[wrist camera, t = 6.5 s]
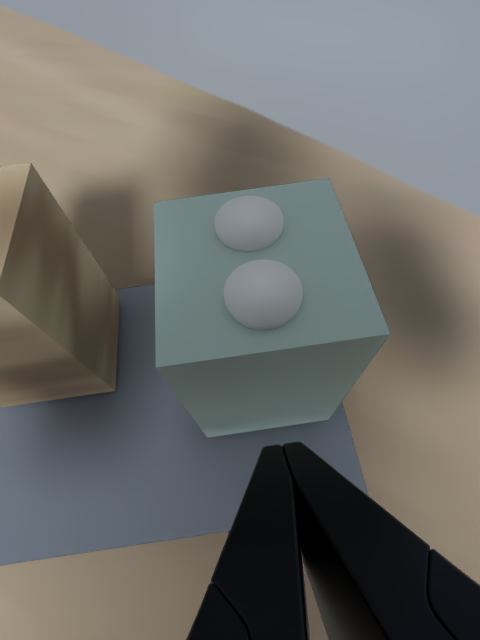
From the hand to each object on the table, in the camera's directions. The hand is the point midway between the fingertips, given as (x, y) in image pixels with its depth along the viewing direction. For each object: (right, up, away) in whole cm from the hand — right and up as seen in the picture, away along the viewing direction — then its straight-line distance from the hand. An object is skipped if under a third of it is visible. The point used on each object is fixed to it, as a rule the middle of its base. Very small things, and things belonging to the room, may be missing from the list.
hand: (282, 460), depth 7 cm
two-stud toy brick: (0, +1, +6) cm, 6 cm away
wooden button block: (-8, +2, +7) cm, 11 cm away
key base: (-4, 0, +8) cm, 9 cm away
